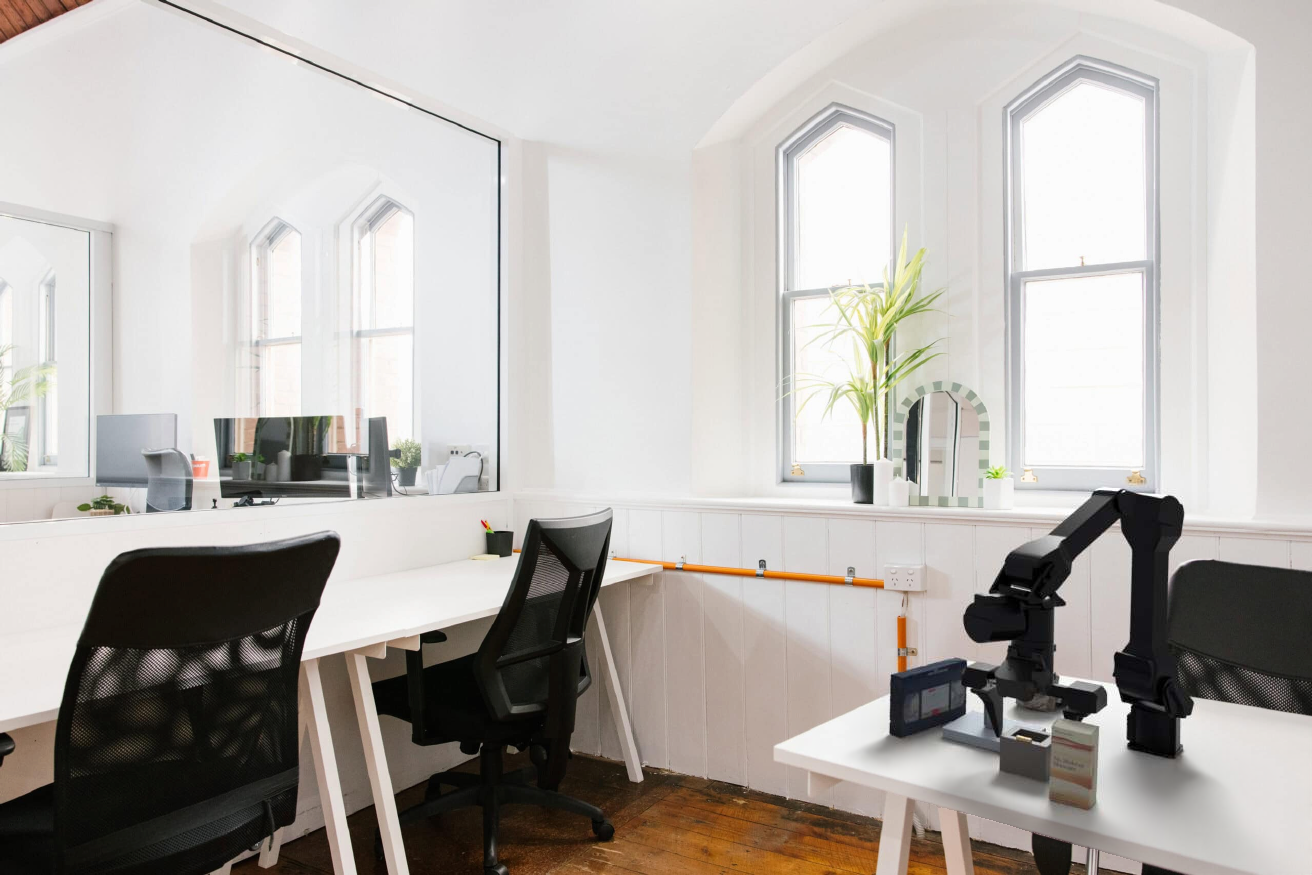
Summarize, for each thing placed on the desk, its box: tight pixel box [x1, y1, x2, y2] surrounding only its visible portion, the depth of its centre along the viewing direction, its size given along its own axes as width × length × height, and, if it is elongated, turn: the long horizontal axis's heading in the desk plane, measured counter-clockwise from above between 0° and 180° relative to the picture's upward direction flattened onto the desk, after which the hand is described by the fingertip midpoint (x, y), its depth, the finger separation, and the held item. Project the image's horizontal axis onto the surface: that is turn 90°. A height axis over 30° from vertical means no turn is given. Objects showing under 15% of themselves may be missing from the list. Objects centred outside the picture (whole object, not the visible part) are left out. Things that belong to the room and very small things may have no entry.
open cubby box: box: [998, 725, 1052, 784], centre depth 122 cm, size 6×6×5 cm
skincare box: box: [1048, 717, 1100, 811], centre depth 112 cm, size 5×4×10 cm
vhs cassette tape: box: [888, 657, 968, 739], centre depth 140 cm, size 18×3×10 cm, turn 126°
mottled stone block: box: [1015, 674, 1066, 714], centre depth 153 cm, size 7×11×10 cm
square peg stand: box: [941, 704, 1047, 753], centre depth 135 cm, size 12×12×8 cm
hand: (1030, 745), depth 122 cm, fingers open, 9 cm apart
